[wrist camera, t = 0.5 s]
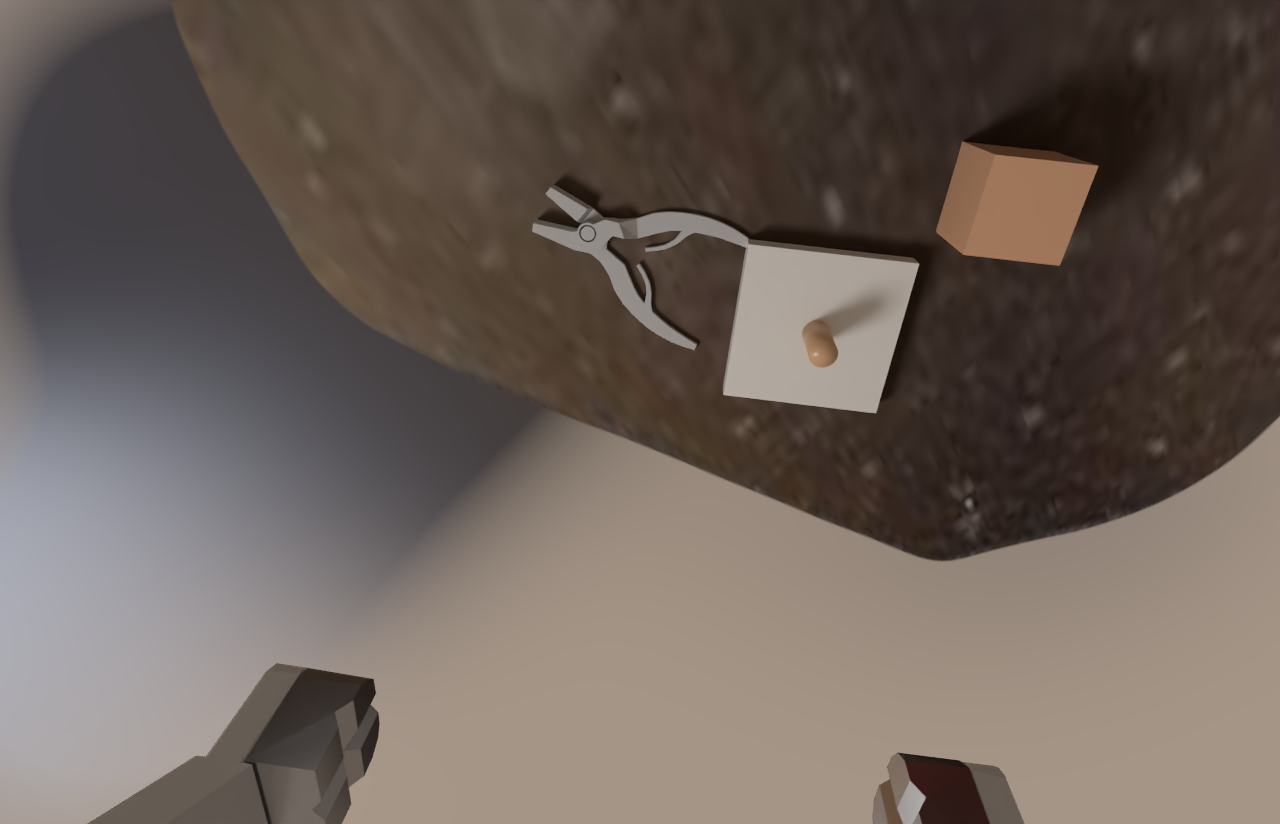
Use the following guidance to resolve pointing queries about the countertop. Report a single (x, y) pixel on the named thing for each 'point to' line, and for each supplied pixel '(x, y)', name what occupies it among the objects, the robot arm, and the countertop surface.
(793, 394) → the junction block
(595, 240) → the pliers
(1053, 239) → the tan cardboard cube
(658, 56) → the countertop surface
